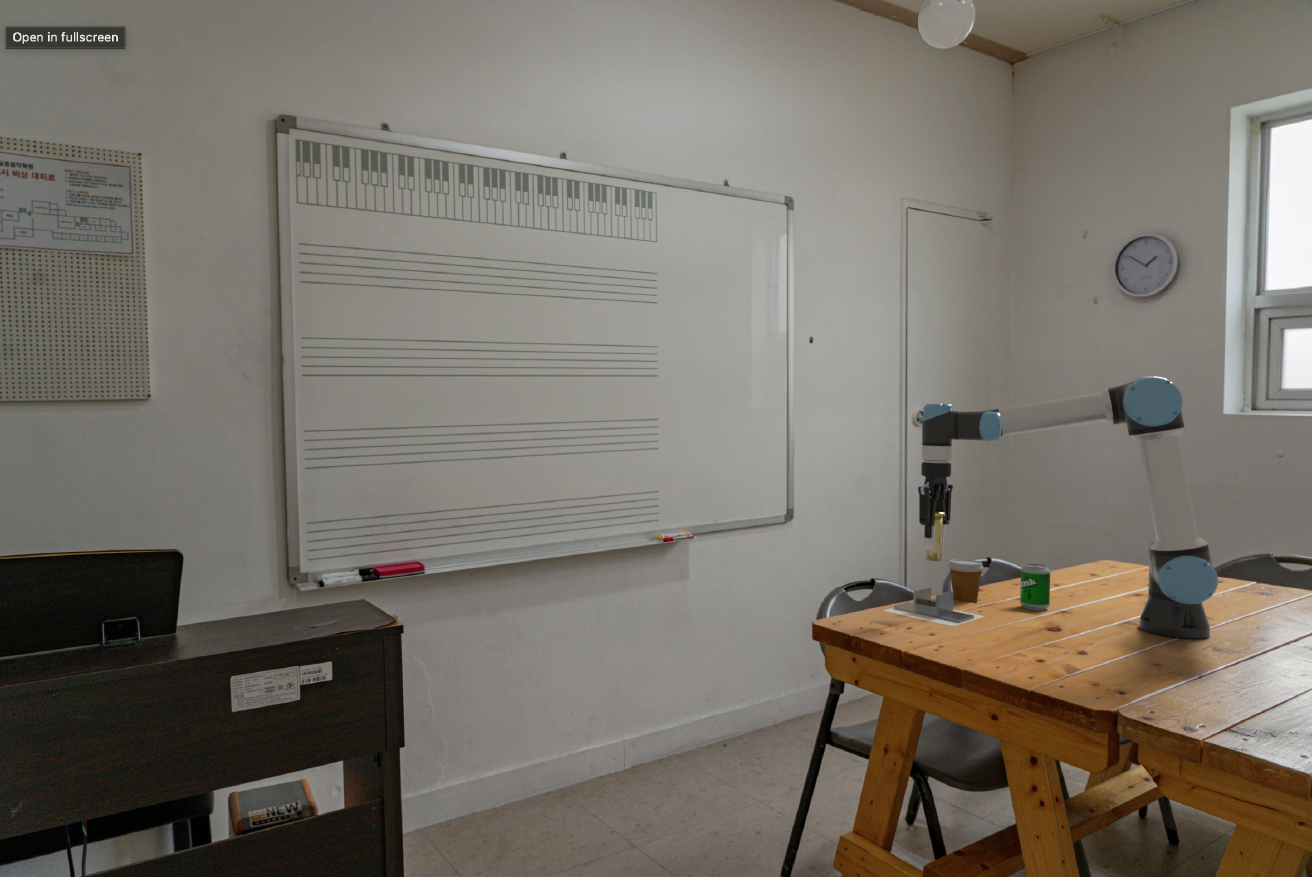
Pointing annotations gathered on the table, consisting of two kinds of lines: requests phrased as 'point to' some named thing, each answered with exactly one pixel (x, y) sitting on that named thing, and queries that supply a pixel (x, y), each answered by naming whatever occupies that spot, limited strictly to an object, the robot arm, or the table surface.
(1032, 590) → the soda can
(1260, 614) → the table surface
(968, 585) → the disposable coffee cup
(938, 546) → the pin
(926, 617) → the board
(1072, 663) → the table surface
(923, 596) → the hinge
